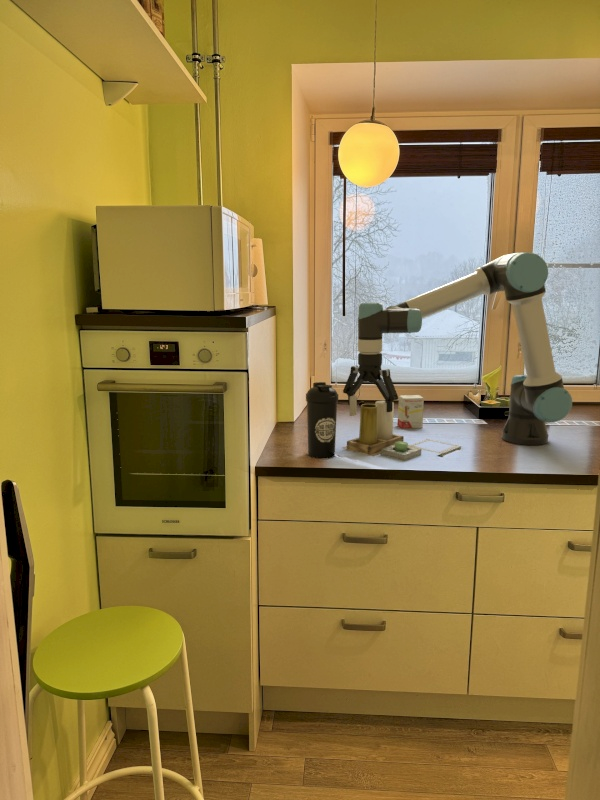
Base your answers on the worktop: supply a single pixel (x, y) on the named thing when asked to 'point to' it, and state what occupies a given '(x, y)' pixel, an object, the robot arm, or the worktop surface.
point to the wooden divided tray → (374, 448)
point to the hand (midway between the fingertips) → (369, 418)
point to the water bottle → (321, 420)
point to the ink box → (410, 411)
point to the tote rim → (441, 451)
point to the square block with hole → (400, 452)
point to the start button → (401, 446)
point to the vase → (368, 424)
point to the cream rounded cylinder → (384, 428)
